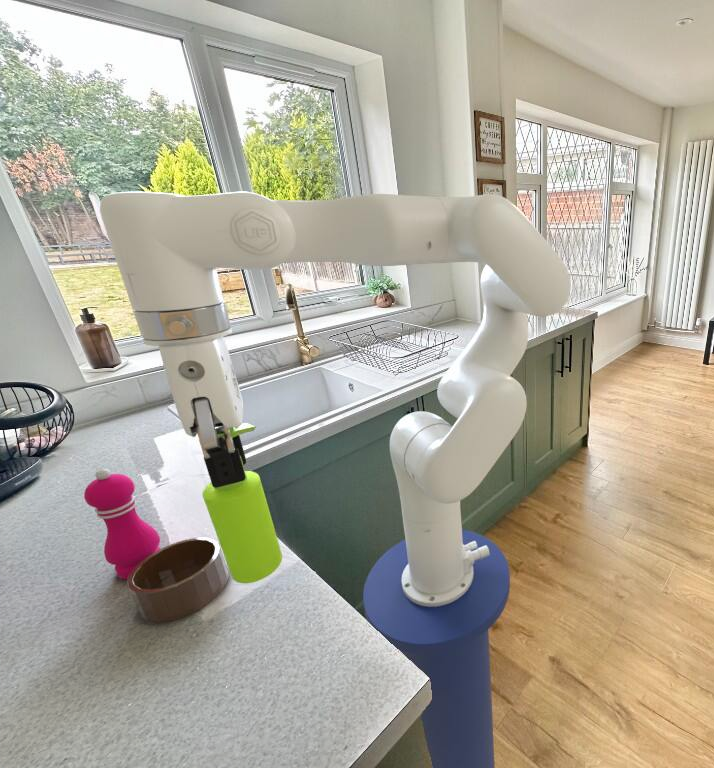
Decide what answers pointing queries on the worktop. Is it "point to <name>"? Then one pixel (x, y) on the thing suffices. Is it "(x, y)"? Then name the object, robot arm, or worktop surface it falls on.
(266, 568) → the soap dispenser
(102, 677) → the worktop surface
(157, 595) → the bowl
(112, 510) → the pepper mill
